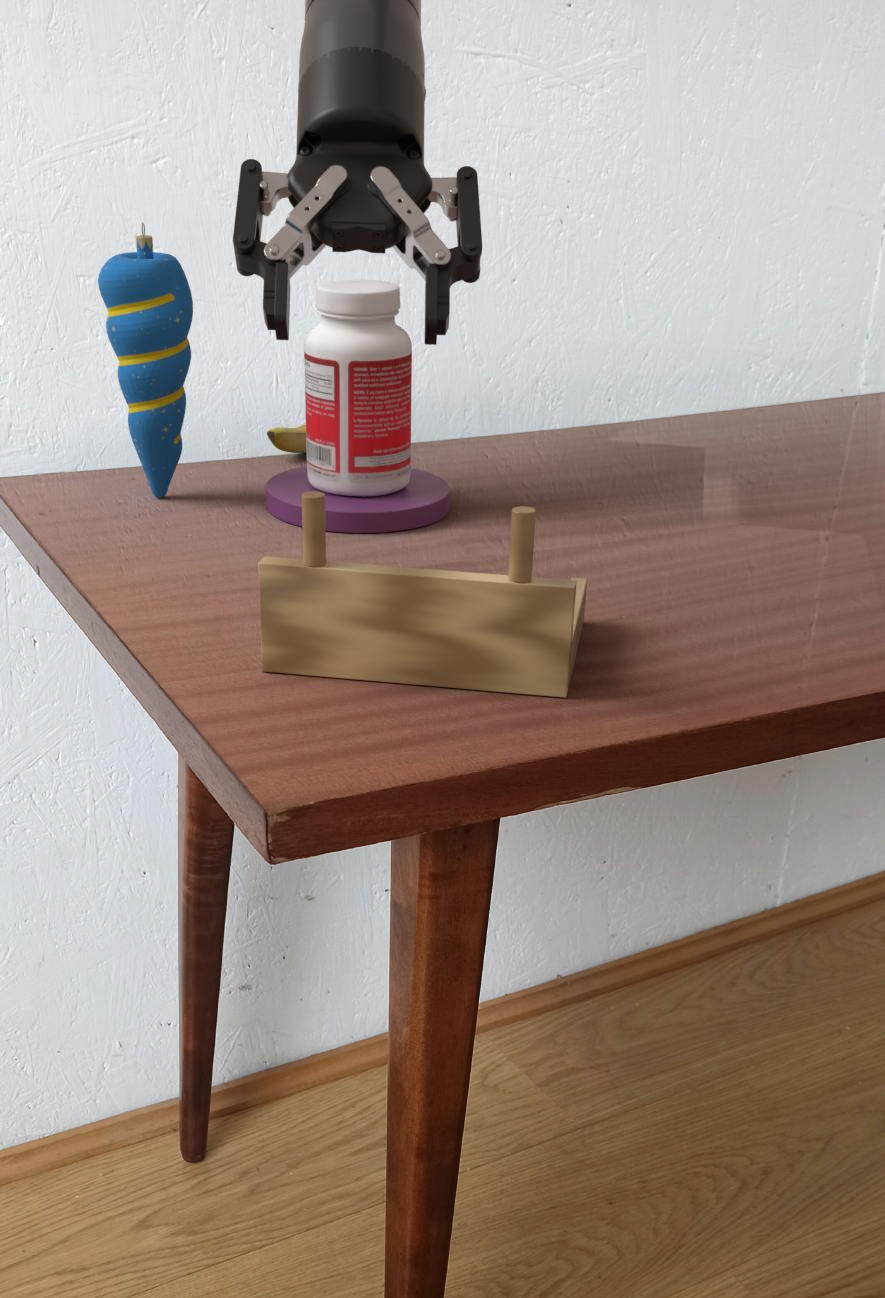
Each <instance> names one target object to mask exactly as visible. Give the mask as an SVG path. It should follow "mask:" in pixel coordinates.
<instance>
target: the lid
mask: <svg viewBox="0 0 885 1298" xmlns="http://www.w3.org/2000/svg"><path fill="white" fill-rule="evenodd" d="M309 491H317V492H322V493H324V494H325V521H326V532H331V533H332V532H334V533H346V534H379V533H391V532H401V531H409V530H413V529H418V528H422V527H426V526H429V525H431V524H434V523H436V522H438V521H440V520H442V519H444V518H446V516H447V515H448V514H449V512H450V509H451V487H450V485H449V483H448V482H447V481H446V480H445V479H444V478H442V477H440V476H438V475H436V474H434V473H431V472H428V471H425V470H421V469H417V468H413V467H411V470H410V480H409V482H408V484H407V485H406V486H405V487H404V488H403V489H401V490H399V491H396V492H393V493H390V494H386V495H380V496H367V497H362V496H345V495H337V494H331V493H327V492H324V491H321V490H318V489H316V488H314V487H313V486H312V485H311V484H310V482H309V480H308V474H307V465H304V466H299V467H298V466H297V467H294V468H290V469H287V470H284V471H281V472H279V473H277V474H275V475H273V476H272V477H270V478H269V479H268V480H267V481H266V483H265V506H266V510H267V511H268V512H269V514H271V516H273V517H275V518H277V519H278V520H280V521H282V522H285V523H288V524H291V525H293V526H298V527H301V528H302V493H304V492H309Z"/></svg>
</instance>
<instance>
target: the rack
mask: <svg viewBox="0 0 885 1298" xmlns="http://www.w3.org/2000/svg"><path fill="white" fill-rule="evenodd" d="M536 514H537V510H536V509H535V508H534V507H531V506H524V505H523V506H520V505H519V506H515V507H512V509H511V519H510V520H511V521H510V522H511V523H510V537H509V538H510V539H509V555H508V557H509V558H508V575H507V574H496V573H495V574H494V573H484V572H483V573H482V572H469V571H457V570H446V569H445V570H443V569H430V568H420V567H418V568H417V567H405V566H394V565H393V566H391V565H380V564H379V565H378V564H369V563H368V564H367V563H366V564H365V563H354V562H343V561H329V560H327V539H326V538H327V536H326V535H327V534H326V532H327V531H326V521H325V494H324V493H322V492H317V491H309V492H304V493H302V527H301V528H302V529H301V531H302V532H301V533H302V535H301V536H302V537H301V539H302V559H301V558H288V557H278V556H277V557H275V556H263V557H262V558H261V559H260V561H259V562H258V563H257V568H258V569H257V570H258V592H259V593H258V594H259V596H258V597H259V598H258V599H259V620H260V621H259V623H260V625H259V626H260V647H261V648H260V651H261V652H260V653H261V671H262V672H264V673H276V674H289V675H299V676H310V677H311V676H312V677H321V678H322V677H324V678H334V679H346V680H355V681H356V680H358V681H369V682H379V683H389V684H390V683H393V684H402V685H403V684H404V685H412V686H413V685H414V686H426V687H438V688H449V689H459V690H473V691H482V692H483V691H484V692H485V691H486V692H495V693H505V694H506V693H508V694H518V695H529V696H541V697H553V698H564V699H565V698H567V697H568V692H569V688H570V683H571V679H572V674H573V672H574V667H575V666H574V665H575V661H576V658H577V653H578V648H579V644H580V641H581V635H582V631H583V626H584V621H585V614H586V613H585V611H586V600H587V589H588V588H587V586H588V579H587V578H585V577H584V578H583V577H571V578H570V579H558V578H548V577H546V578H545V577H534V576H533V567H534V566H533V564H534V550H535V549H534V547H535V530H536Z"/></svg>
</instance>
